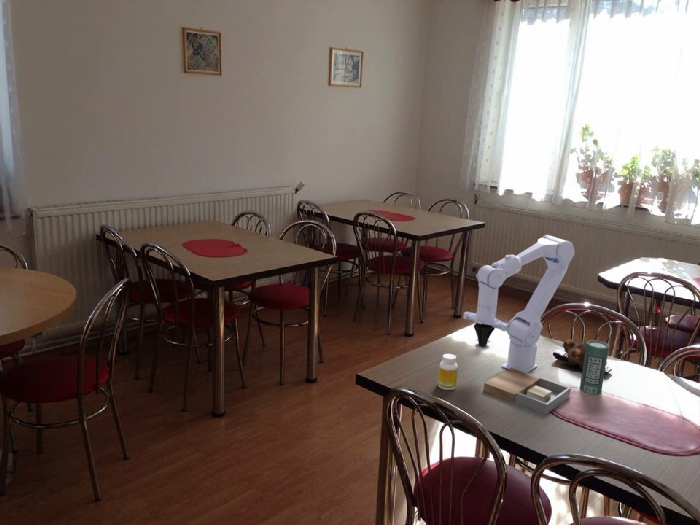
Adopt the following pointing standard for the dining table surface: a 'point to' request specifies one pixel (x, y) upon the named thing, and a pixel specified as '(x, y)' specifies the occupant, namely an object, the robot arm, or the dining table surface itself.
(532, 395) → the wooden tile
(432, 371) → the dining table surface
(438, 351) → the dining table surface
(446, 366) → the supplement bottle
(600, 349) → the can
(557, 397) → the box
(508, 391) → the wooden board
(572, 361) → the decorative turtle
